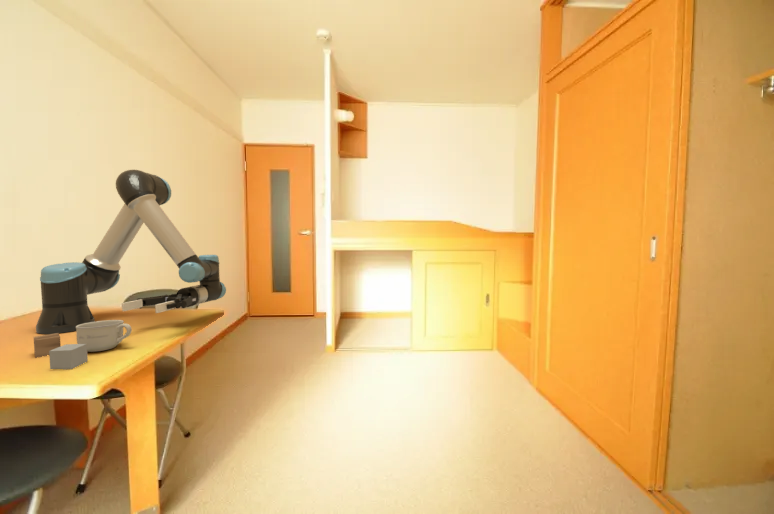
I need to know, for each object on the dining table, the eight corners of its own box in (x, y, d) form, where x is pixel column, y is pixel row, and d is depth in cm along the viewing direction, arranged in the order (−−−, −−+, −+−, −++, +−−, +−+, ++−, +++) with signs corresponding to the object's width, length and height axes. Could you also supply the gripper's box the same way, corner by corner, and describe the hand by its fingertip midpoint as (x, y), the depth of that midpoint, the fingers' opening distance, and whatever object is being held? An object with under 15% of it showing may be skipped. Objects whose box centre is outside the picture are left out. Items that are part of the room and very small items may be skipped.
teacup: (66, 353, 93) (65, 326, 93) (104, 341, 104) (103, 317, 103) (108, 357, 91) (107, 329, 91) (142, 344, 102) (141, 319, 101)
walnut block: (34, 353, 93) (33, 336, 93) (59, 349, 97) (58, 332, 96) (35, 358, 90) (34, 340, 89) (60, 353, 94) (60, 336, 93)
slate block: (50, 370, 82) (49, 350, 82) (67, 362, 87) (66, 344, 87) (72, 369, 83) (71, 350, 82) (87, 361, 88) (86, 343, 87)
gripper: (219, 306, 125) (171, 321, 104) (165, 304, 130) (110, 317, 109) (218, 287, 124) (170, 298, 103) (164, 285, 130) (108, 295, 109)
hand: (139, 308), depth 106 cm, fingers open, 13 cm apart
